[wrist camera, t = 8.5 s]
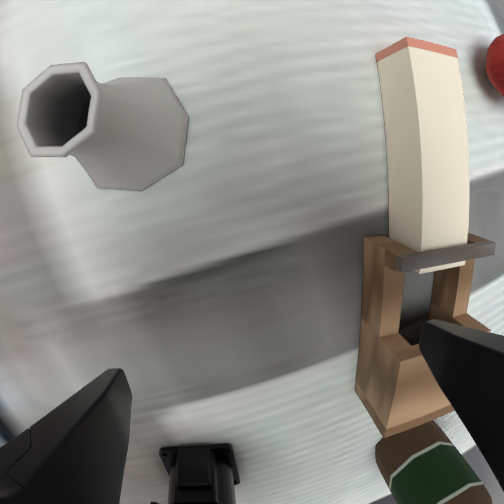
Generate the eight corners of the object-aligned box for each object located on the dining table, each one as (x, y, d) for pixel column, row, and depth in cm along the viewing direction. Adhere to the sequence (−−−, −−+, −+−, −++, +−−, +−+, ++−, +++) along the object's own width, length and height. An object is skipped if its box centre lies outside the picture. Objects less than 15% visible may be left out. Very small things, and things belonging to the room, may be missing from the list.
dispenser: (431, 366, 25) (467, 404, 19) (354, 390, 24) (383, 438, 19) (451, 227, 21) (505, 246, 16) (363, 237, 21) (412, 263, 15)
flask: (69, 97, 16) (-28, 61, 7) (178, 63, 17) (150, -21, 7) (90, 205, 18) (-4, 246, 9) (201, 176, 19) (188, 189, 9)
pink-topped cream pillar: (431, 249, 22) (465, 265, 18) (388, 255, 21) (419, 274, 17) (422, 62, 18) (456, 49, 14) (375, 54, 17) (406, 36, 14)
